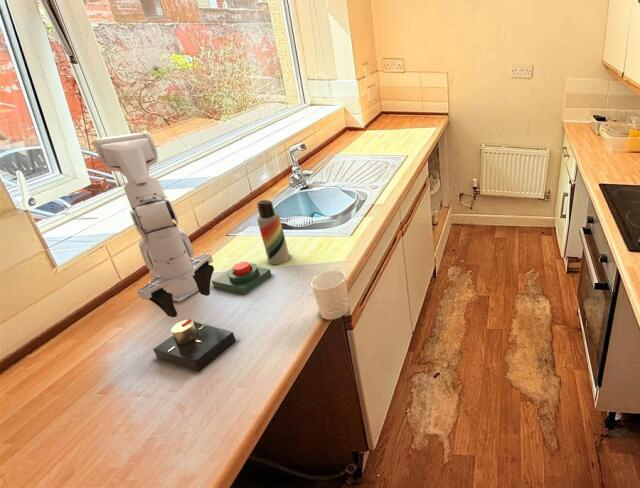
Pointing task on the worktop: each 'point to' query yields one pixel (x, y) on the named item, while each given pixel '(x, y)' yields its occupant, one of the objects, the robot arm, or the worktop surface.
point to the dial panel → (196, 348)
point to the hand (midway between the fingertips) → (189, 304)
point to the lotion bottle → (272, 233)
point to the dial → (184, 332)
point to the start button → (241, 268)
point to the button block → (242, 280)
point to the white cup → (331, 294)
